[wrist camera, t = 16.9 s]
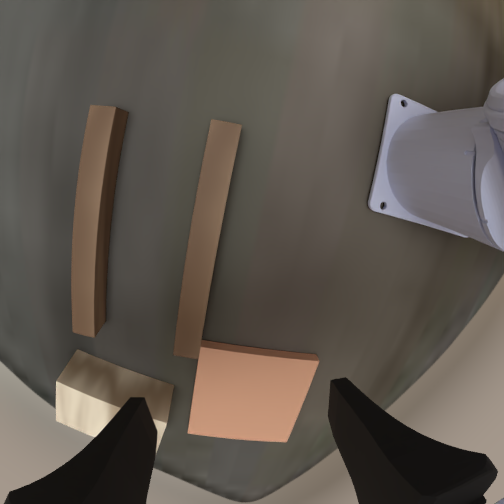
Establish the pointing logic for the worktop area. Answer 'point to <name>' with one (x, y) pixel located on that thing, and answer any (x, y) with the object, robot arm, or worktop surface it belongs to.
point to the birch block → (106, 394)
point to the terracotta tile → (249, 391)
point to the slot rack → (100, 215)
